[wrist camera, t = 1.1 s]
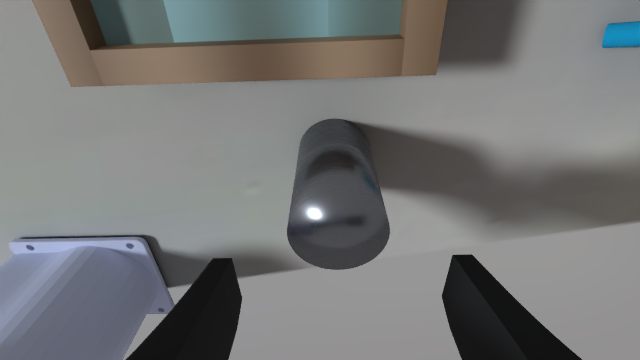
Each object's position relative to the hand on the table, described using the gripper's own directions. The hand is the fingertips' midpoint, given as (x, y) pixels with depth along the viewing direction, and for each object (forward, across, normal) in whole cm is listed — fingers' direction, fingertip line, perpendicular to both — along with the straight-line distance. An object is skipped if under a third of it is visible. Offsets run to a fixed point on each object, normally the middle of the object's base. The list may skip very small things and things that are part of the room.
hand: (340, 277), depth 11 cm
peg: (+9, 0, 0) cm, 9 cm away
